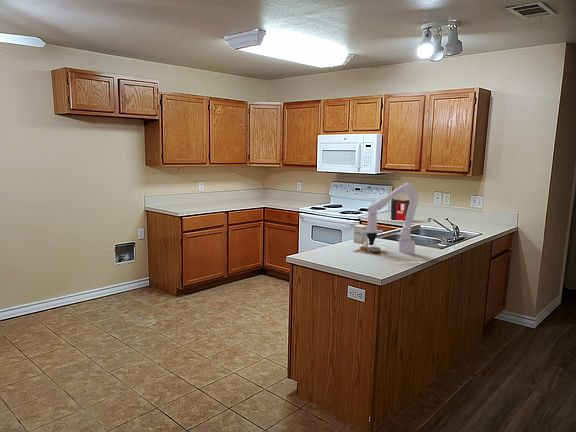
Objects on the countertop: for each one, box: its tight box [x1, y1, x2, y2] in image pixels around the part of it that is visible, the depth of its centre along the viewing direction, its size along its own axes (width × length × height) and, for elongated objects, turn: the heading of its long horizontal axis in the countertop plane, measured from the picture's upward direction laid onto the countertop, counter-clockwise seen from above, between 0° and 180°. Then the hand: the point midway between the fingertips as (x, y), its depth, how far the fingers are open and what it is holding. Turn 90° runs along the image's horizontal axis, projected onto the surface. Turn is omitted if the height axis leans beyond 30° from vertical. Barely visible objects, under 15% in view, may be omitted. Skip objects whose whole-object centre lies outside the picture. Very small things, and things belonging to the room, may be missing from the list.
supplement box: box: [353, 224, 369, 245], centre depth 305 cm, size 7×7×13 cm
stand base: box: [352, 248, 389, 257], centre depth 274 cm, size 18×15×1 cm
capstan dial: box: [359, 241, 382, 253], centre depth 274 cm, size 14×7×5 cm, turn 50°
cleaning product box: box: [390, 198, 410, 221], centre depth 406 cm, size 16×9×20 cm, turn 65°
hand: (371, 244), depth 278 cm, fingers closed
